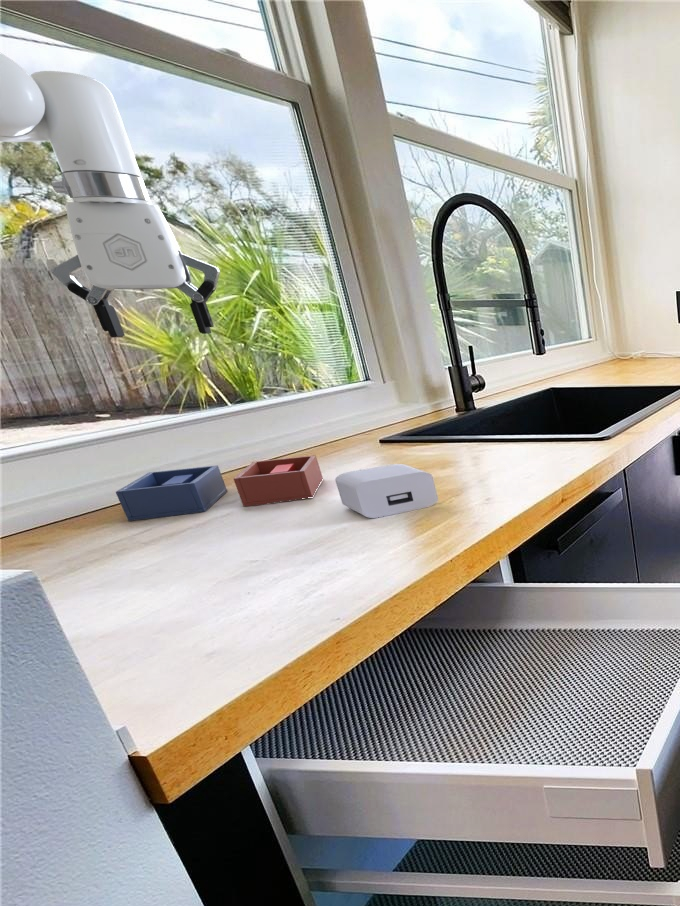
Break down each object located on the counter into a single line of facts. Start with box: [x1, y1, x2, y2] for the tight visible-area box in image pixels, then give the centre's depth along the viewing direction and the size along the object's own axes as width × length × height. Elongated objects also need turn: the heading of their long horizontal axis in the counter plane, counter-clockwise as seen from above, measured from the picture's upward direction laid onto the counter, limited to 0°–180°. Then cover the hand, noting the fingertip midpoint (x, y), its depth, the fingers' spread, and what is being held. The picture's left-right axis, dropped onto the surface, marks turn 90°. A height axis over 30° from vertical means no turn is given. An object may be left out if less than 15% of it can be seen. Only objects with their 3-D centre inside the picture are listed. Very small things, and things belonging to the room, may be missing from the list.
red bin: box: [233, 454, 324, 508], centre depth 102 cm, size 8×13×4 cm, turn 27°
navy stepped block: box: [161, 474, 195, 486], centre depth 97 cm, size 10×4×3 cm, turn 27°
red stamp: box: [269, 464, 296, 474], centre depth 102 cm, size 10×4×3 cm, turn 27°
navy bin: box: [115, 464, 228, 522], centre depth 97 cm, size 8×13×4 cm, turn 27°
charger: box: [335, 463, 439, 519], centre depth 94 cm, size 5×9×15 cm
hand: (162, 335), depth 95 cm, fingers open, 9 cm apart
